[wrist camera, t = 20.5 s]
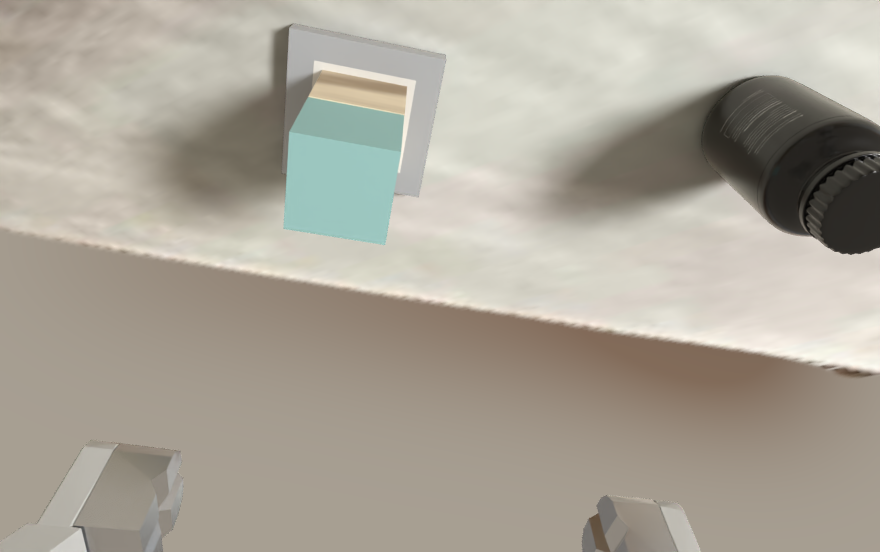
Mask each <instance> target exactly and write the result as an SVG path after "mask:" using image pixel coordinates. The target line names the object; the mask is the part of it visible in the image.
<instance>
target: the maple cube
mask: <svg viewBox="0 0 880 552" xmlns="http://www.w3.org/2000/svg"><path fill="white" fill-rule="evenodd" d="M406 95H407V86H403V85H397V84H392V83H387V82H382V81H377V80H372V79H367V78H362V77H357V76H352V75H347V74H342V73H337V72H331V71H326V70H322V72H321V74H320V76H319V78H318V79H317V81H316V83H315V85H314V87H313V89H312V90H311V92H310V94H309V96H308V97H311V98H316V99H321V100H327V101H332V102H337V103H342V104H348V105H353V106H358V107H363V108H369V109H374V110H379V111H384V112H390V113H395V114H400V115H404V116H405V106H406Z"/></svg>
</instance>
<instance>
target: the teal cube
mask: <svg viewBox="0 0 880 552" xmlns="http://www.w3.org/2000/svg"><path fill="white" fill-rule="evenodd" d="M403 125H404V115H400V114H395V113H390V112H384V111H379V110H374V109H369V108H363V107H358V106H353V105H348V104H342V103H337V102H332V101H327V100H321V99H316V98H311V97H308V98H307V100H306V102H305V104H304V105H303V107H302V109H301V111H300V113H299V115H298V117H297V118H296V120H295V122H294V124H293V126H292V128H291V129H290V131H289V144H288V162H287V179H286V196H285V213H284V229H288V230H294V231H300V232H307V233H313V234H319V235H325V236H332V237H338V238H344V239H351V240H357V241H363V242H369V243H376V244H382V245H385V242H386V237H387V231H388V225H389V219H390V213H391V208H392V202H393V196H394V190H395V185H396V179H397V173H398V167H399V162H400V156H401V148H402V136H403Z"/></svg>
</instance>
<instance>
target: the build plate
mask: <svg viewBox="0 0 880 552" xmlns="http://www.w3.org/2000/svg"><path fill="white" fill-rule="evenodd" d="M445 63H446V55H444V54H439V53H434V52H429V51H424V50H419V49H414V48H410V47H405V46H400V45H395V44H390V43H385V42H380V41H376V40H371V39H366V38H361V37H356V36H351V35H346V34H342V33H337V32H332V31H327V30H322V29H317V28H312V27H308V26H303V25H298V24H292V26H291V27H290V28H289V43H288V62H287V81H286V100H285V119H284V138H283V157H282V174H287V162H288V144H289V131H290V129H291V128H292V126H293V124H294V122H295V120H296V118H297V117H298V115H299V113H300V111H301V109H302V107H303V105H304V104H305V102H306V100H307V98H308V96H309V94H310V92H311V90H312V89H313V87H314V85H315V83H316V81H317V79H318V78H319V76H320V74H321V72H322V70H326V71H331V72H337V73H342V74H347V75H352V76H357V77H362V78H367V79H372V80H377V81H382V82H387V83H392V84H397V85H403V86H407V95H406V106H405V116H404V125H403V136H402V148H401V156H400V162H399V167H398V173H397V179H396V185H395V190H394V193H397V194H403V195H409V196H414V197H419V193H420V188H421V183H422V178H423V173H424V168H425V163H426V158H427V153H428V148H429V143H430V138H431V133H432V128H433V123H434V118H435V113H436V108H437V103H438V98H439V93H440V88H441V83H442V78H443V73H444V68H445Z"/></svg>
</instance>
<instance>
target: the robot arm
mask: <svg viewBox="0 0 880 552" xmlns="http://www.w3.org/2000/svg"><path fill="white" fill-rule="evenodd" d="M181 463H182V459H181V451H177V450H170V449H162V448H154V447H146V446H138V445H130V444H122V443H115V442H106V441H96V440H90V441H89V442H88V443H87V444H86V445H85V446H84V447H83V448H82V450H81V451H80V453H79V455H78V456H77V458H76V459H75V461H74V463H73V464H72V466H71V468H70V469H69V471H68V473H67V474H66V476H65V478H64V479H63V481H62V482H61V484H60V486H59V487H58V489H57V491H56V492H55V494H54V496H53V497H52V499H51V500H50V502H49V504H48V505H47V507H46V509H45V510H44V512H43V514H42V515H41V517H40V519H39V520H38V522H37V523H36V524H34V523H27V524H25V525H24V526H22V527H20V528H19V529H18V530H16V531H15V532H13V533H12V534H10V535H9V536H7V537H6V538H4V539H3V540H1V541H0V552H163V545H162V538H163V537H164V536H165V535H166V534H168V533H169V532H170V531H172V530H173V527H174V525H175V522H176V519H177V516H178V513H179V510H180V505H181V502H182V497H183V487H184V486H183V478H182V476H181V475H180V474H179V473H178V470H179V468H180V466H181ZM597 509H598V514H596V515H595V516H593V517H591V518H589V519H588V521H587V523H586V525H585V527H584V530H583V537H582V550H583V552H701V550H700V548H699V546H698V543H697V541H696V538H695V536H694V534H693V532H692V529H691V527H690V524H689V522H688V519H687V517H686V515H685V512H684V510H683V508H682V507H681V506H680V505H679V504H678V503H676V502H668V501H655V500H651V499H644V498H633V497H622V496H611V495H606V496H604V497H602V498H601V499H600V500H599V502H598V504H597Z"/></svg>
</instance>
